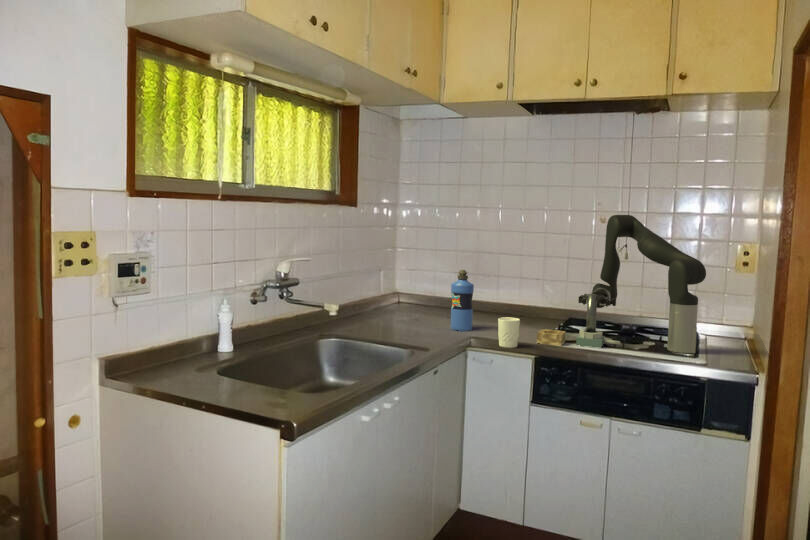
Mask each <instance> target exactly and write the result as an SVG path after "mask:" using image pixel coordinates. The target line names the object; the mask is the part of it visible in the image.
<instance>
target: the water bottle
mask: <svg viewBox="0 0 810 540" xmlns="http://www.w3.org/2000/svg"><path fill="white" fill-rule="evenodd" d="M457 273H458V275H457V280H456V281H455V282H453V283H451V284H450V285H451V286H450V287H451V289H450V292H451V307H450V330H451V329H452V330H451V331H454V330H458V331H457V332H470V331H469V330H471V331H473V317H474V316H473V315H474V313H473V311H474V310H473V296H474V295H473V294H474V291H475V290H474V289H475V288H474V284H473V283H471V282H470V281H468V278H469V277H468V276H469V275H467V274H468V271H466V270H465V269H460V270H459V271H458V272H457Z"/></svg>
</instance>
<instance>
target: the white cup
mask: <svg viewBox="0 0 810 540" xmlns="http://www.w3.org/2000/svg"><path fill="white" fill-rule="evenodd" d="M520 323H521V320H520V318H517V317H511V316H510V317H507V316H505V317H504V316H503V317H499V318H498V319H497V331H498V335H497V336H498V345H499V347H502V348H509V349H511V348H512V349H513V348H517V347H518V346H519V345H518V343H519V338H520V337H519V334H520Z"/></svg>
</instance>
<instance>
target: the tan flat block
mask: <svg viewBox="0 0 810 540" xmlns="http://www.w3.org/2000/svg"><path fill="white" fill-rule="evenodd" d="M566 333H567V331H566V330H557V329H556V330H555V329H545V328H542V329H540V330H539V331H538V332H537V333H536V344H537V343H540V344H539V345H547V344H548V346H562V345H563V344H564V343H565V342H566Z"/></svg>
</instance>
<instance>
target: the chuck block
mask: <svg viewBox="0 0 810 540" xmlns="http://www.w3.org/2000/svg"><path fill="white" fill-rule="evenodd" d="M575 342H576V343H575V345H580V346H579V347H584V346H592V347H591V348H594V347H602V346H603V347H604V345H605V344H613V345H621V340H612V339H605V335H603V331H601V330H597V329H596V333H588V332H586V329H580V330H579V334H578V335H577V336H576V341H575ZM603 344H604V345H603ZM603 347H602V348H603Z"/></svg>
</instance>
